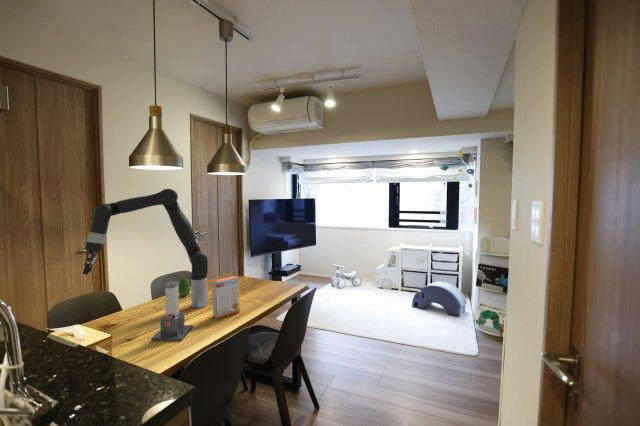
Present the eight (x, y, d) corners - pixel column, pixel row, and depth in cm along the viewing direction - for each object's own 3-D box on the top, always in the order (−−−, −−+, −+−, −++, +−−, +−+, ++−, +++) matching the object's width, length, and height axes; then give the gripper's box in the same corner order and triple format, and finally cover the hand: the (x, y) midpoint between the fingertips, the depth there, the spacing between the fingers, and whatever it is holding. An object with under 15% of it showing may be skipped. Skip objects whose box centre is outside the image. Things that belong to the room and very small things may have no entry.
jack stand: (164, 328, 156) (164, 308, 155) (192, 327, 157) (192, 307, 156) (151, 341, 142) (150, 319, 141) (181, 340, 143) (181, 318, 142)
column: (171, 328, 152) (170, 281, 151) (180, 328, 152) (179, 281, 151) (165, 334, 146) (164, 284, 145) (174, 333, 146) (173, 284, 145)
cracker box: (234, 309, 182) (234, 275, 181) (239, 312, 178) (239, 277, 177) (212, 316, 172) (211, 279, 171) (217, 319, 168) (216, 281, 167)
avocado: (192, 294, 211) (192, 277, 210) (187, 297, 203) (187, 280, 202) (180, 294, 210) (180, 277, 210) (175, 297, 202) (175, 280, 202)
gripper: (102, 243, 152) (93, 276, 150) (105, 242, 165) (97, 272, 162) (84, 241, 149) (74, 274, 147) (88, 239, 161) (80, 270, 159)
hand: (86, 273), depth 155 cm, fingers open, 8 cm apart
